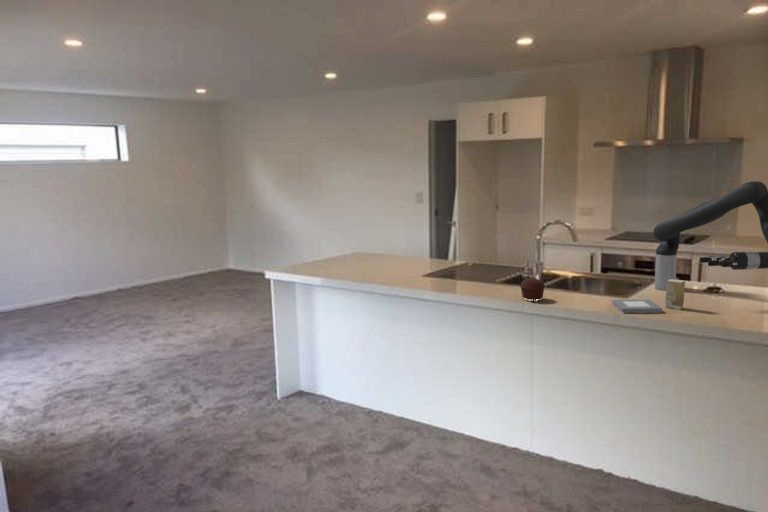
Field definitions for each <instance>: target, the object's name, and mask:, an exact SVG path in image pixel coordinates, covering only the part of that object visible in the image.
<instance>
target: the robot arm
mask: <svg viewBox="0 0 768 512" xmlns="http://www.w3.org/2000/svg"><path fill="white" fill-rule="evenodd" d="M750 204H752V206H753V207H754V209H755V210H756V212H757V216H758V218H759V219H758V220H759V224H760V229H761V232H762V235H763V237H764V238H765V240H766V243H768V188H767V186H766V184H765V183H764V182H761V181H759V180H758V181H757V180H754V181H747V182H744V183H742V184H740V185H739V186H737V187H736V188H734V189H732V190H730V191H728V192H727V193H725V194H723V195H721V196H718V197H715V198H713V199H710V200H708V201H706V202H703V203H700V204H699V205H696V206H695V207H692V208H691V209H689V210H687V211H685V212H683V213H682V214H680V215H678V216H676V217H674V218H671V219H669V220H665V221H663V222H662V221H661V222H659V223H658V224H656V225H655V227H654V228H653V232H652V233H653V234H652V235H653V237H654V238H655V240H658V241H660V243H659V245H658V246H657V247H656V249H655V267H654V268H655V271H654V289H656V288H657V289H656V290H660V289H661V290H662V291H666V289H667V281H668V280H670V279H674V280H677V255H678V250H679V247H680V240H681V239H680V238H681V233H682V232H686V231H687V230H691V229H695V228H699V227H702V226H705V225H708V224H710V223H712V222H715V221H716V220H719V219H720V218H722V217H723V216H725V215H726V214H727V213H730V212H731V211H732V210H734V209H737V208H740V207H742V206H745V205H746V206H747V205H750ZM699 263H702V264H703V263H707V266H708V267H721V268H731V269H732V270H734V271H735V270H736V271H738V270H739V271H741V270H758V269H761V270H762V269H768V251H733V252H731V253H730V255H729V256H727V255H709V256H707V257H706V256H705V257H703V256H701V257H699ZM661 290H660V291H661Z"/></svg>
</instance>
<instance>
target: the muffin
mask: <svg viewBox="0 0 768 512" xmlns="http://www.w3.org/2000/svg"><path fill="white" fill-rule="evenodd" d="M519 287H520V291H521V297H522V298H523V297H524V298H527V299H533V300H534V299H535V300H536V299H541V298H542V297H544V291H545V287H546V285H545V283H544V282H543V281H542V280H540V279H538V278H533V277H531V278H526V279H524V280H523V281H521V283H520V285H519ZM542 299H543V298H542Z"/></svg>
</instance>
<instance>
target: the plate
mask: <svg viewBox="0 0 768 512" xmlns="http://www.w3.org/2000/svg"><path fill="white" fill-rule="evenodd" d="M612 303H613V304H614V305H615V306H616V307H617V308H618V309H619V310H620V311H621V312H624V313H623V314H662V313H663V310H662V309H663V308H662V307H660V305H658V304H656V303H655V302H654V301H652V300H651V299H649V298H647V299H645V298H643V299H641V298H638V299H611V304H612ZM613 304H612V305H613ZM614 305H613V306H614ZM615 306H614V307H615ZM616 307H615V308H616ZM617 308H616V309H617ZM618 309H617V310H618ZM619 310H618V311H619ZM620 311H619V312H620ZM621 312H620V313H621Z"/></svg>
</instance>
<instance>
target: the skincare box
mask: <svg viewBox="0 0 768 512" xmlns="http://www.w3.org/2000/svg"><path fill="white" fill-rule="evenodd" d="M685 287H686V281H685V280H681V279H676V280H674V279H670V280H668V281H667V289H666V290H665V291H666V292H665V304H664V308H665V309H671V308H673V309H672V310H677V309H680V310H682V309H684V302H685V300H684V299H685V289H686V288H685Z"/></svg>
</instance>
